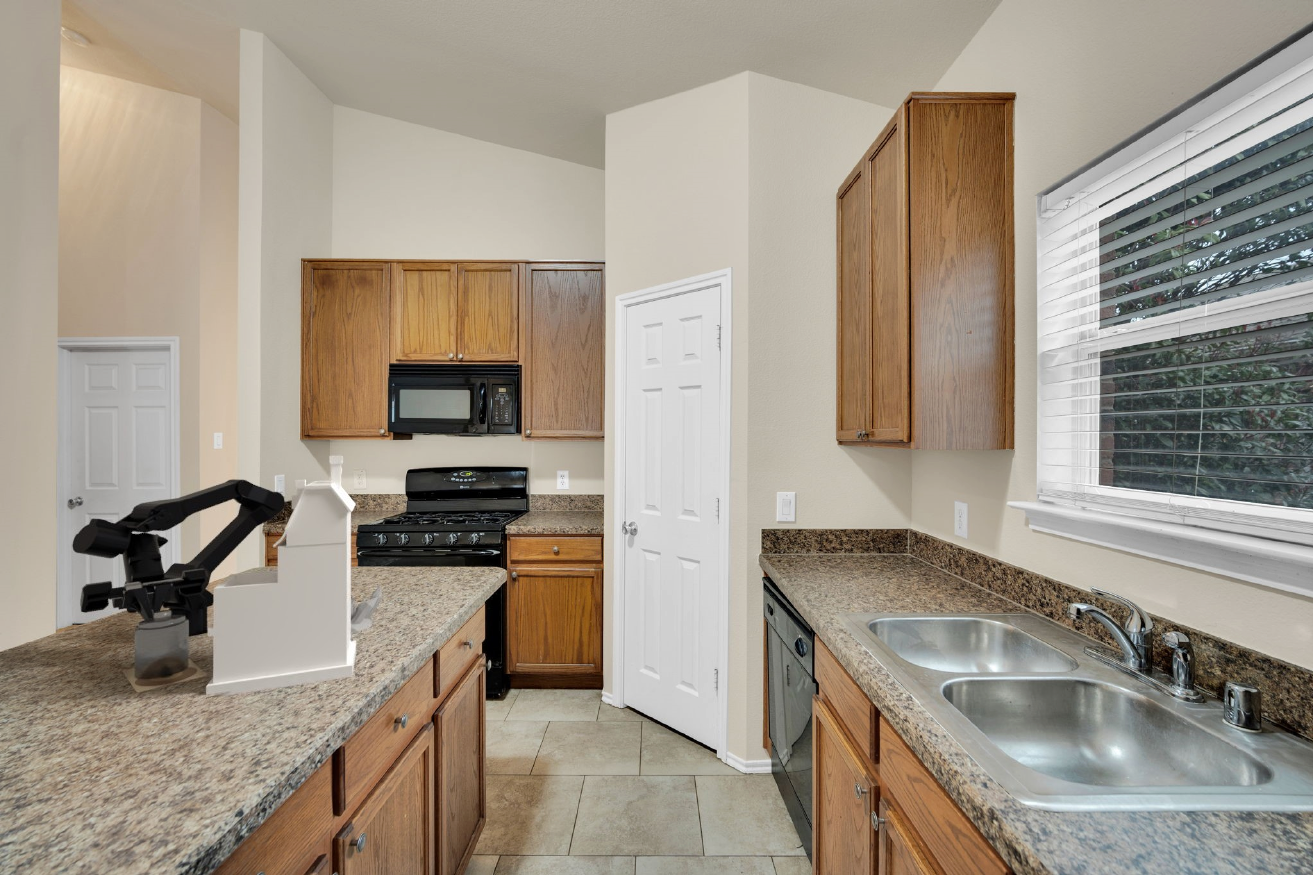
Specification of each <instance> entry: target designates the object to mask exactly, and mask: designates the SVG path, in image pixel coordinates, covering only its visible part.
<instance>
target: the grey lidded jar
mask: <svg viewBox="0 0 1313 875" xmlns="http://www.w3.org/2000/svg"><path fill="white" fill-rule="evenodd" d="M189 639H190V637H189V620H188V619H185V616H184V615H171V610H169V609H164V610H162V609H161V610H160V611H157V612H154V618H150V619H146V620H144V619H143V620H141V621H139V622H138V625H137V626H136V627H134V668H135V678H137V679H153V678H159V677H164V676H169V675H172V674H176V673H178V672H181V671H183V670H185V669H187V668H188V666H189V659H190V658H189V656H190V655H189V654H190V653H189V652H190V649H189V648H190V647H189V644H190V642H189V641H190V640H189Z"/></svg>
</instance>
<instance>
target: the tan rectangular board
mask: <svg viewBox="0 0 1313 875" xmlns="http://www.w3.org/2000/svg"><path fill="white" fill-rule="evenodd" d="M121 672H122V673H123V675H125V677H126V679H127V680H128V681H129V683H130V684H131V685H130V686H132V688H133V689H134V690H135V692H136V693H142V692H145V691H151V690H154V689H157V688H158V689H159V688H162V687H166V686H170V685H174V684H178V683H182V682H186V681H191V680H194V679H198V678H203V677H206V676H208V675H207V674H206V673H205V672H204V671H203V670H202V669H201V668H200V667H199V666H198V665H197V664H196V663H194V661H193V660H192V659H190V658H189V666H188V668H187V669H185V670H183V671H181V672H178V673H176V674H172V675H169V676H164V677H159V678H153V679H137V678H135V667H133V668H129V669H125V670H122V671H121Z"/></svg>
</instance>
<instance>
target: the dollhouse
mask: <svg viewBox="0 0 1313 875" xmlns="http://www.w3.org/2000/svg"><path fill="white" fill-rule="evenodd" d="M328 458H329V461H328V462H329V465H330V472H331V473H330V480H314V481H312V482H310V483H308V484H307V483H306V482H307V480H306V479H295V482H294V483H295V485H294V486H295V488H294V490H295V489H296V493H293V494H291V509H292V510H293V511H292V513H291V515H290V517H289V519H288V521H287V523H286V525H285V528H284V532H283V534H282V536H281V537H280V538H279V539H278V540H277V541H276V542H275V543H274V544H272V547H273V548H276V546H277V570H271V571H270V570H269V571H268V570H267V571H259V572H258V571H257V572H256V571H255V572H246V573H245V572H244V573H243V572H242V573H234V574H233V573H232V574H231V573H230V575H227V577H226V578H225V579H223V580H222V581H221V582H220V583H219V584H217V585H216V586H215V587H214V588H213V595H214V603H213V625H211V626H209V627H207V630H208V633H207V637H209V638H210V637H213V640H212V641H213V644H212V645H213V646H212V647H213V650H212V651H213V654H212V655H213V656H212V657H213V660H212V661H213V662H212V663H213V666H212V667H213V668H212V670H213V673H212V675H213V676H212V678H211V679H210V681H209V682H208V683H207V685H206V686H205V694H206V696H207V695H211V696H207V697H206V699H211V697H212V698H218V697H223V696H224V697H225V696H231V695H239V694H245V693H250V692H257V691H263V690H264V691H265V690H272V689H278V688H284V687H285V688H286V687H292V686H297V685H305V684H311V683H319V682H325V681H331V680H337V679H344V678H352V677H353V674H354V669H355V660H356V654H357V640H351V639H352V638H351V637H352V636H351V635H352V634H351V633H352V632H351V602H352V599H351V597H352V586H351V585H352V522H351V521H352V514H351V513H352V512H353V511H354V508H355V507H356V504H357V503H356V502H355V501H354V500H353V499H352V498H351V497H350V494H348V492H346V490H345V489H344V488H343V486H342V474H343V467H342V465H343V463H344V456H343V455H329V456H328ZM212 694H214V695H212Z"/></svg>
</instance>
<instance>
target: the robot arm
mask: <svg viewBox="0 0 1313 875" xmlns="http://www.w3.org/2000/svg"><path fill="white" fill-rule="evenodd" d="M231 500H234V501H235V502H236V503H237V504H240V506H239V510H238V514H237V516H236V517H235V518H234V519H232V521H230V522H229V523H228V524H227V525H226V526H225V527H224V528H223V529H222V530H221V531H220V532H219V533H218V534H217V535H216V536H215V537H214V538H213V539H212V540H210V542H209V543H208V544H207V545H206V546H205V547H203V549H201V550H200V551H199V553H197V554H196V556H194V557H193V558H192V559H191V560H190V561H189V562H187V563H179V562H174V563H173V564H171V565H170V567H169V568H168V569H167V570H166V571H165V570H164V567H163V561H162V554H161V551H160V548H162V547H163V546H164V545H166V544H168V542H169V540H168V539H167V538H166V537H164V536H160V535H159V534H157V533H155V534H154V533H150V532H152V531H155V532H157V531H158V532H165V531H168V530H171V529H172V528H174V527H176V526H178V525H179V524H181V523H183V522H184V521H186V519H188V517H190V516H191V515H194V514H196V513H198V512H201V511H205V510H206V509H209V508H212V507H215V506H218V505H221V504H223V503H226V502H229V501H231ZM285 502H286V501H285V497H284V496H283V494H282V493H281V492H279V491H272V490H270V489H266V488H264V487H262V486H258V485H256V484H254V483H252V482H250V481H248V480H247V479H239V478H238V479H234V478H232V479H228V480H227V481H225V482H222V483H219V484H216V485H213V486H211V487H207V488H204V489H201V490H198V491H195V492H192V493H189V494H185V495H183V496H179V497H177V498H170V499H169V498H168V499H161V500H160V499H158V500H153V501H147V502H142V503H139V504H137V505H135V506H134V507H133V508H132V511H131V513H129V514H127V515H126V516H124V517H123V518H121V519H119V520H117V521H116V522H115V523H114V522H111V521H108V520H106V519H102V518H96V517H95V518H91V519H90V521H89V523H88V524H86V525H84V526H83V528H81V529H80V530H79V531H78V533H76V534H75V535H74V538H73V542H72V549H73V551H74V552H75V553H77V554H82V555H87V556H93V557H99V558H104V559H105V558H106V559H115V558H116V557H117V556H119V555H122V561H123V567H124V568H123V569H124V573H125V574H124V575H125V582H124V585H123V586H118V587H113V581H111V580H107V581H101V582H93V583H86V584H85V585H84V586H83V587H82V588H81V595H80V602H79V604H80V612H81V613H91V612H98V611H103V610H105V609H106V608H107V607H108V606H109V604H110V603H109V600H111V604H112V607H113V608H112V609H117V608H118V610H119V611H120V610H125V609H126V613H129V614H135V613H138V614H139V615H140V616H141V617H142V619H143V620H146V619H150V618H154V612H157V611H161V610H162V608H163V609H168V610H171V615H184V616H185V619H188V620H189V638H191V637H196V636H200V635H205V634H208V608H209V607H212V606H214V593H212V592H211V591H209V590H208V589H207V588H208V586H209V585H210V580H211V576H212V574H213V572H214V571H215V570H216V569H217V568H218V567H219V566H220V565H221V564H222V562H224V561H225V560H226V559H227V558H228V556H230V554H232V553H233V552H234V551H235V550H236V548H238V547H239V545H240V544H242V542H243V541H244V540H245V539H247V537H248V536H249V535H250V534H251V533H252V532H253V531H254V530H255V529H256V528H257V527H259V526H260V525H262V524H265V523H267V522H268V521H272V520H273V518H275V517H277V516H278V515H279V514H280V513H281V512H282V511H283V510H284V509H285V507H286V504H285ZM133 532H134V533H133Z"/></svg>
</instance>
